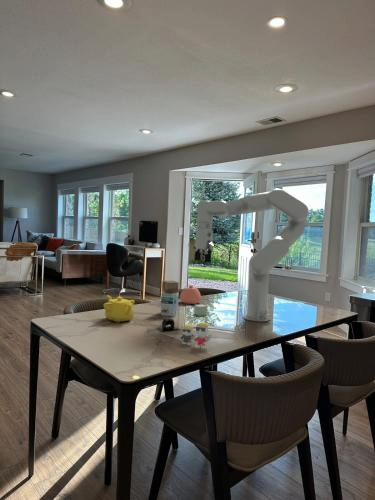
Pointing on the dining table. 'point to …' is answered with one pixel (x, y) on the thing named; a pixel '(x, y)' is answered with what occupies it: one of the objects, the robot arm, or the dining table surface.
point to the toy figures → (200, 331)
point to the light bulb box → (169, 303)
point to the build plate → (166, 323)
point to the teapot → (119, 309)
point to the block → (170, 286)
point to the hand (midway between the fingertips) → (202, 261)
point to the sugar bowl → (190, 295)
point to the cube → (200, 310)
